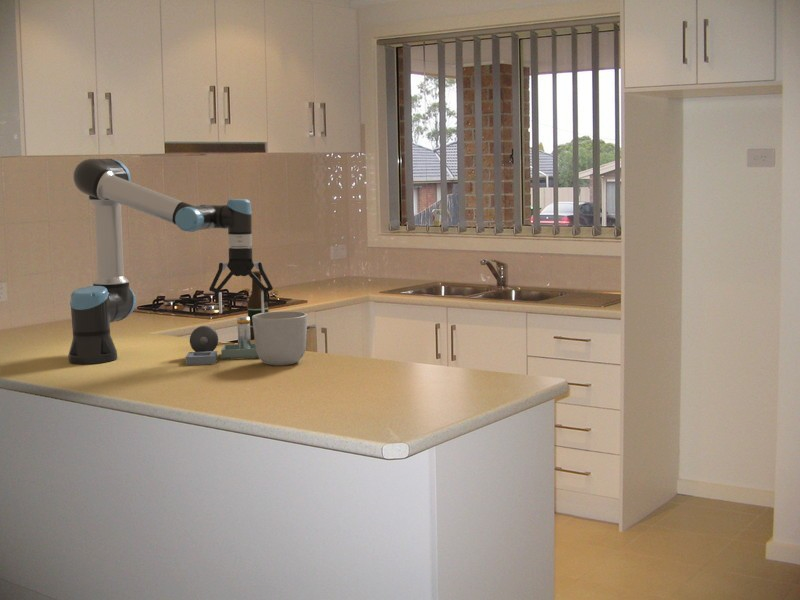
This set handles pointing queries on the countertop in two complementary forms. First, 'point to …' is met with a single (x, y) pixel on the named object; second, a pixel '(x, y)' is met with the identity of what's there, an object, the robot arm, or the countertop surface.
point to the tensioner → (203, 346)
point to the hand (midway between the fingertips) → (241, 312)
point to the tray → (238, 352)
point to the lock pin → (243, 332)
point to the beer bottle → (255, 302)
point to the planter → (280, 336)
